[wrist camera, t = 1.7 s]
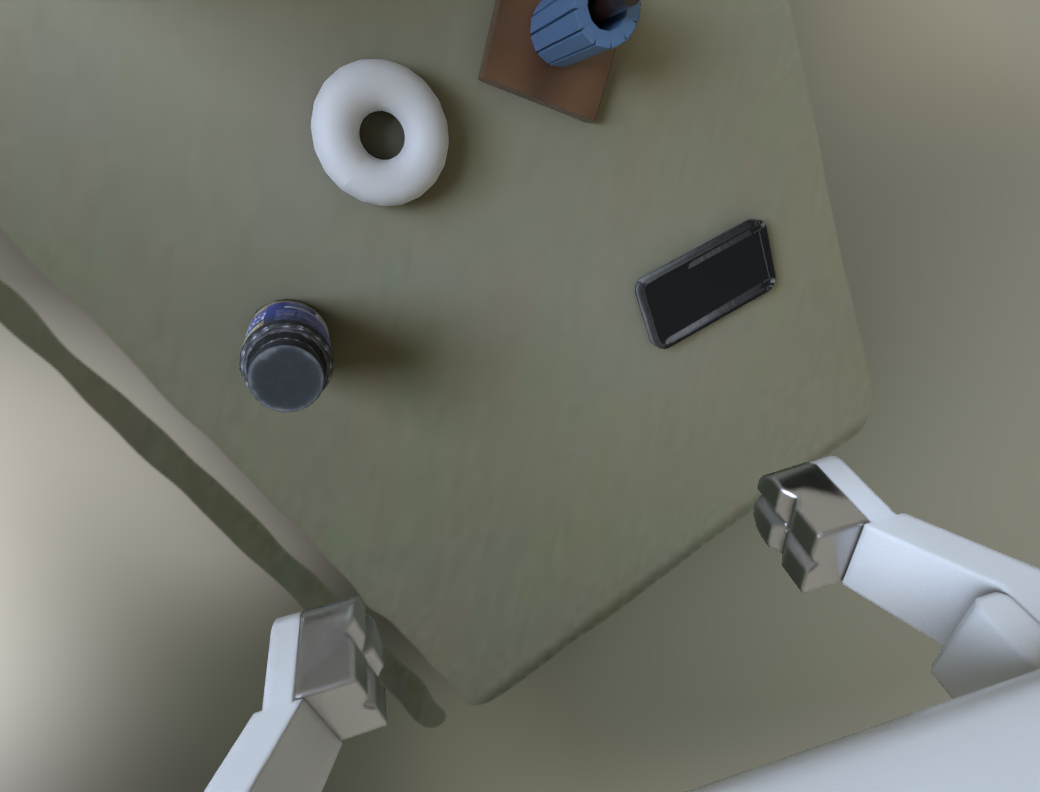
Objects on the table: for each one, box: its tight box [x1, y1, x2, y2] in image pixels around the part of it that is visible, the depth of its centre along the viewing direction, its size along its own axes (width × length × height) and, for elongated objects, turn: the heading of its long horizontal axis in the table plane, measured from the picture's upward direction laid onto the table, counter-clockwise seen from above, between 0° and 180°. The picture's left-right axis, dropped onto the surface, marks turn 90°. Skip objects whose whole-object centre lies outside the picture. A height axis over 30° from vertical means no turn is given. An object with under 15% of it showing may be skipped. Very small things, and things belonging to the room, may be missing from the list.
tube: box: [530, 0, 641, 67], centre depth 41 cm, size 5×5×8 cm
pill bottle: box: [240, 299, 334, 412], centre depth 42 cm, size 6×6×11 cm
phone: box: [635, 219, 775, 349], centre depth 58 cm, size 8×1×15 cm
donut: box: [311, 59, 449, 206], centre depth 42 cm, size 10×4×10 cm
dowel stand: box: [478, 0, 639, 122], centre depth 40 cm, size 10×10×12 cm
